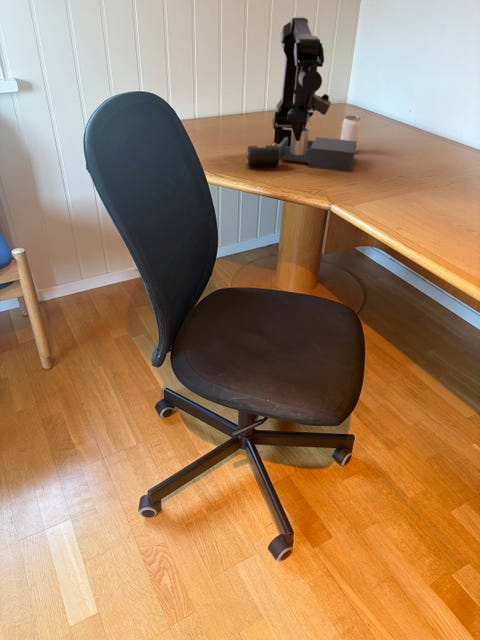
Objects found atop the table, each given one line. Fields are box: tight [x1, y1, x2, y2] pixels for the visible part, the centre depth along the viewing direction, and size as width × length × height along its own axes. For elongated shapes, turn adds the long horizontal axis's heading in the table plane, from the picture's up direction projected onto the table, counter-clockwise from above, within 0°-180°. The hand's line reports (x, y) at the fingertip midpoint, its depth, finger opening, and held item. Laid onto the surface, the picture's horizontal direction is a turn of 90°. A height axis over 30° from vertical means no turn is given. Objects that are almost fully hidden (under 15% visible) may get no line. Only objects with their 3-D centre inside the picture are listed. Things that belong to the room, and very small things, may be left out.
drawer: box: [271, 137, 315, 163], centre depth 173 cm, size 17×13×5 cm
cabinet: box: [307, 136, 357, 173], centre depth 171 cm, size 14×14×6 cm
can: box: [340, 115, 362, 153], centre depth 181 cm, size 6×6×12 cm
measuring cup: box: [283, 127, 310, 155], centre depth 158 cm, size 8×5×7 cm, turn 74°
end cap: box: [246, 145, 280, 169], centre depth 165 cm, size 10×7×7 cm
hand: (299, 138), depth 157 cm, fingers closed on measuring cup, 5 cm apart
